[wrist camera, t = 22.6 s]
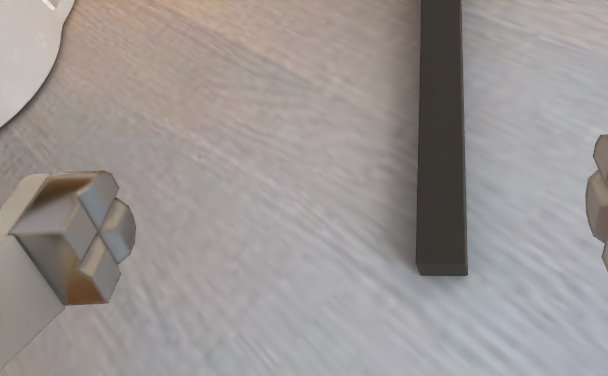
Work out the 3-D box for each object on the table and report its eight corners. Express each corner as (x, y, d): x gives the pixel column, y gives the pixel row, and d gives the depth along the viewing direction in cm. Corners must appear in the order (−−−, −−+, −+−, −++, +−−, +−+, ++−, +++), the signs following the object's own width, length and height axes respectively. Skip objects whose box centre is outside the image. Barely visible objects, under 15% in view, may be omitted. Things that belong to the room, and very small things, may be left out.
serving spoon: (508, 276, 23) (507, 262, 22) (384, 275, 25) (377, 263, 24) (484, -112, 35) (483, -135, 34) (402, -95, 37) (398, -116, 36)
